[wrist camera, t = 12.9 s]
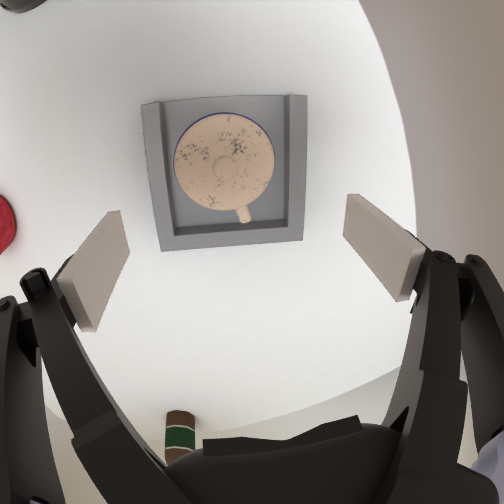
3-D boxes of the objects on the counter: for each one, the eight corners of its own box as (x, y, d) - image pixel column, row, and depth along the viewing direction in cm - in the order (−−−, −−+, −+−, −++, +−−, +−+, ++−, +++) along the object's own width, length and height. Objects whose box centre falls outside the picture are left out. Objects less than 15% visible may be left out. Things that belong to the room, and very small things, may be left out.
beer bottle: (173, 406, 58) (172, 495, 37) (200, 415, 61) (204, 499, 40) (160, 416, 60) (157, 497, 40) (186, 424, 63) (187, 502, 43)
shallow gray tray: (148, 105, 28) (141, 105, 25) (298, 96, 29) (307, 95, 26) (165, 239, 37) (161, 251, 34) (295, 229, 38) (302, 240, 35)
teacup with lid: (172, 128, 29) (150, 138, 19) (247, 102, 28) (264, 97, 18) (208, 216, 35) (205, 265, 25) (276, 193, 34) (302, 232, 24)
